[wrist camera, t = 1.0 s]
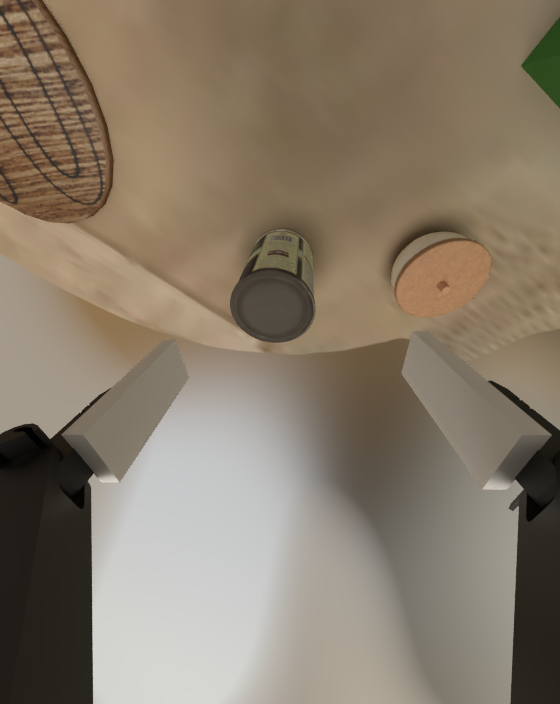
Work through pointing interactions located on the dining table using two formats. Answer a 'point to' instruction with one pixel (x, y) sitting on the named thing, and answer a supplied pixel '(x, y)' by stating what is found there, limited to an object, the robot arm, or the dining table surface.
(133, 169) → the dining table surface
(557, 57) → the hardback book
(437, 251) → the lidded jar
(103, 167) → the trivet
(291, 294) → the coffee can
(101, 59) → the dining table surface
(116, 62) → the dining table surface
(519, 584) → the robot arm
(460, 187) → the dining table surface
